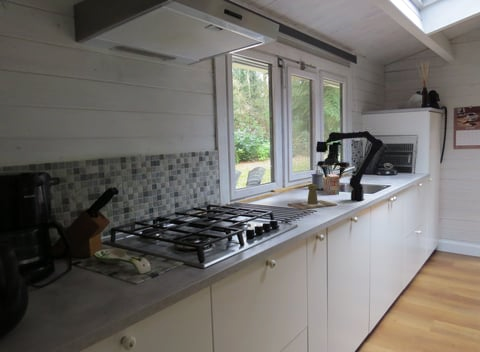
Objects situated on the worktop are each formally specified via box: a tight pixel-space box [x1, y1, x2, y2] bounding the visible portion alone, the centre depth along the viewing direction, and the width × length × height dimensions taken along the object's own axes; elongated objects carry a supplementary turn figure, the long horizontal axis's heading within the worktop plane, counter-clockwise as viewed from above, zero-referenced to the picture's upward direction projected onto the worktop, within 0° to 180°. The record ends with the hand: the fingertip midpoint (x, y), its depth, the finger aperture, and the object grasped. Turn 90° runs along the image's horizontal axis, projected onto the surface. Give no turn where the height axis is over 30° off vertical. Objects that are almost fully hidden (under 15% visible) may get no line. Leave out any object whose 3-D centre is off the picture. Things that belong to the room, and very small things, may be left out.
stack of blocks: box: [322, 173, 340, 196], centre depth 254 cm, size 21×6×12 cm, turn 0°
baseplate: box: [287, 199, 338, 211], centre depth 209 cm, size 24×14×1 cm, turn 117°
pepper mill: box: [306, 183, 318, 205], centre depth 208 cm, size 6×6×11 cm
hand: (332, 178), depth 227 cm, fingers open, 9 cm apart
